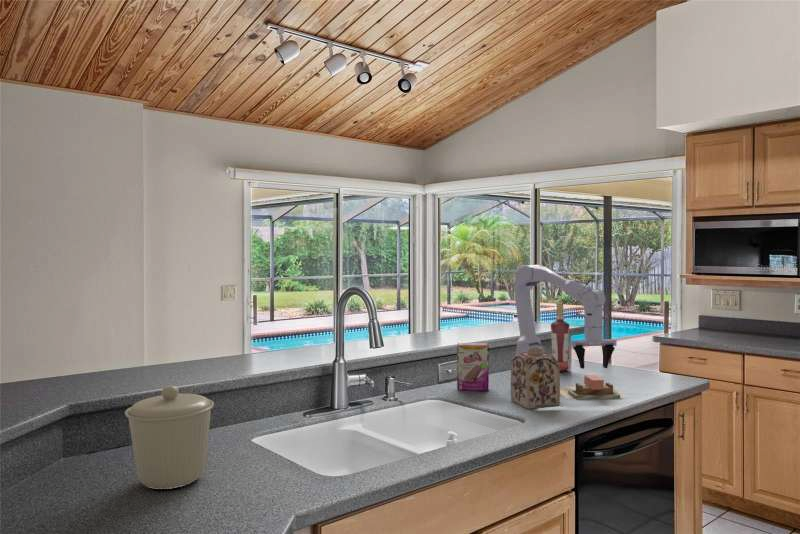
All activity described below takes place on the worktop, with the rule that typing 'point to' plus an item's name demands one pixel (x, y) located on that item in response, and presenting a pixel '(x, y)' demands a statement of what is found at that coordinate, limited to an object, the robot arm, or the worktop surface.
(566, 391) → the jig
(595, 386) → the pink rectangular block
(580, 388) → the brown u-shaped block
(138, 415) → the canister
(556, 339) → the liquor
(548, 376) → the decorative jar
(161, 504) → the worktop surface
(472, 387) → the candy bar box
